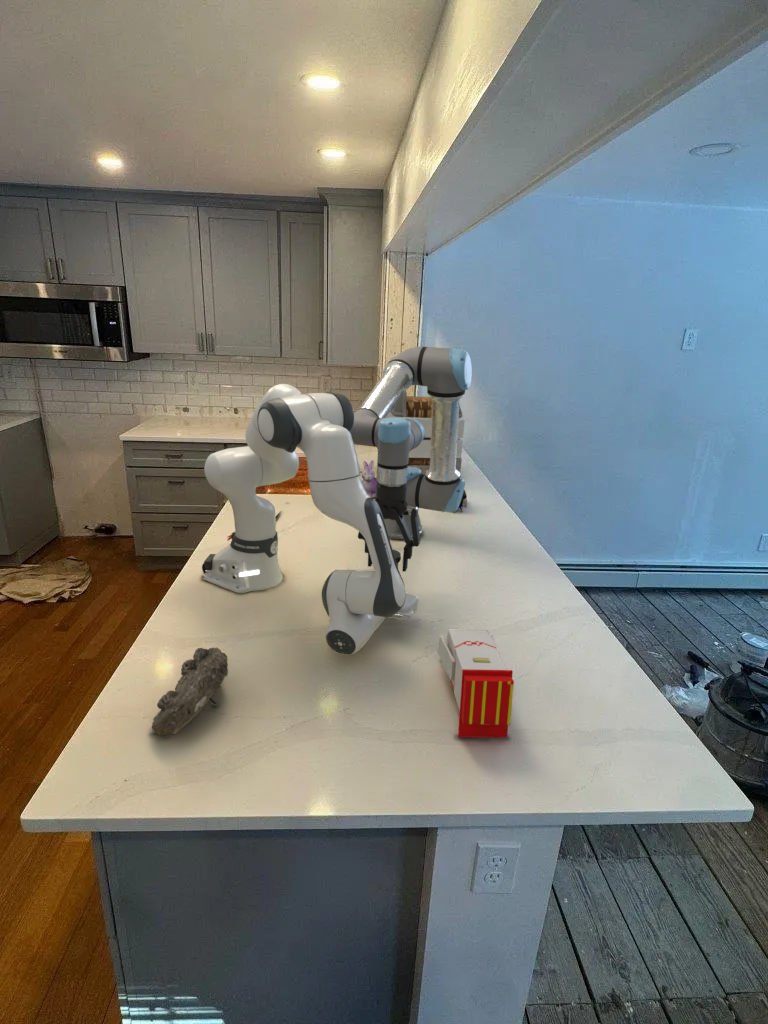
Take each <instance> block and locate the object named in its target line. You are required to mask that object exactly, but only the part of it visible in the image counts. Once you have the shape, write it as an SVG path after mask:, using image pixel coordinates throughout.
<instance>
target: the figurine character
mask: <svg viewBox="0 0 768 1024" xmlns="http://www.w3.org/2000/svg"><path fill="white" fill-rule="evenodd" d="M467 495H468V494H467V493H466V490H465V489H464V492H463V496H462V499H461V502H460V505H459V507H458V509H459V510H460V512H463V509H464V508H465V509H466V508H467V506H468V499H467V497H468V496H467ZM458 509H457V510H458Z"/></svg>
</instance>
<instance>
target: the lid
mask: <svg viewBox="0 0 768 1024" xmlns="http://www.w3.org/2000/svg"><path fill="white" fill-rule="evenodd" d="M392 550H393V554H394V557H395V561H396V564H397V563H399V564H400V562H401V560H402V554H401V552H400V551H398V550H397V549H393V548H392Z"/></svg>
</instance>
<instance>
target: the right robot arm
mask: <svg viewBox="0 0 768 1024" xmlns="http://www.w3.org/2000/svg"><path fill="white" fill-rule="evenodd" d="M472 378H473V367H472V361H471V357H470V354H469V352H468V351H467V350H464V349H459V348H454V347H434V346H422V345H421V346H413V347H411V348H407V349H405V350H403V351H400V352H399V353H398V354H396V355H395V356H393V357H392V358H391V359H389V361H388V362H387V363H386V364H385V366H384V368H383V370H382V375H381V377H380V379H378V381H377V383H376V384H375V386H374V387H373V388H372V389H371V391H370V392H369V393H368V395H367V396H366V398H365V399H364V400H363V402H362V403H361V404H360V405H359V407H358V408H357V409H356V411H354V423H353V427H352V429H351V431H350V434H351V436H352V439H353V442H354V446H365V447H374V448H377V461H376V480H377V481H378V483H377V484H376V497H375V499H374V500H375V501H376V502H377V503H378V505H379V507H380V510H381V512H382V515H383V518H384V522H385V525H386V528H387V532H388V536H389V539H390V540H395V541H404V543H405V545H404V547H403V554H402V569H401V570H402V572H403V573H406V571H407V569H408V565H409V560H411V559H412V557H413V551H414V550H413V548H414V547H419V546H420V543H421V536H422V535H423V525H422V524H421V518H420V515H419V509H424V510H430V511H435V512H436V511H437V512H441V513H450V514H451V513H456V512H457V511H458V507H459V505H460V502H461V499H462V496H463V492H464V490H465V486H466V480H465V479H463V478H461V474H460V472H459V471H458V470H457V469H456V456H457V438H458V420H459V405H460V403H461V402H460V400H461V399H462V398H464V396H465V395H466V391H467V390H469V389H470V388H471V385H472ZM412 386H421V387H426V388H427V389H426V391H427V392H426V394H427V396H428V397H431V398H432V414H431V447H430V466H429V468H428V469H426V470H425V472H424V473H422V470H421V468H419V467H417V466H408V459H409V452H410V451H411V450H412V449H414V448H416V447H418V446H419V444H420V443H421V442H422V441H423V439H424V435H425V431H424V428H423V425H422V424H421V423H420V422H419V421H418V420H416V419H402V418H386V416H387V415H388V413H389V412H390V410H391V409H392V407H393V406H394V404H395V403H396V401H397V400H398V398H399V397H400V395H401V394H402V392H403V391H404V390H406V391H407V390H408V389H410V388H411V387H412ZM357 538H358V539H359V540H362V541H364V553H365V554H367V567H368V568H369V567H372V566H373V564H372V560H371V557H370V553H369V550H368V546H367V543H366V540H365V538H364V536H363V535H362V534H361V533H360V532H359V531H358V534H357Z"/></svg>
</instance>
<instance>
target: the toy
mask: <svg viewBox="0 0 768 1024" xmlns="http://www.w3.org/2000/svg"><path fill="white" fill-rule="evenodd" d="M446 640H447V643H446V641H445V639H444V636H443V635H442V634H439V637H438V646H437V656H438V657H439V659H440V661H441V663H442V666H443V668H444V670H445V672H446V674H447V677H448V679H449V681H450V684H451V687H452V690H453V693H454V697H455V701H456V705H457V708H458V711H459V714H458V715H459V716H458V730H457V731H458V732H457V737H458V738H508V731H509V726H510V725H511V717H512V707H513V697H514V696H513V695H514V684H515V680H514V679H513V673H514V671H513V670H512V669H508V667H507V665H506V662H505V661H504V659H503V658H502V655H501V653H500V651H499V649H498V647H497V643H496V639H495V637H494V635H493V634H491V632H490V631H489V629H467V628H466V629H465V628H463V629H461V628H460V629H459V628H448V630H447V639H446Z"/></svg>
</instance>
